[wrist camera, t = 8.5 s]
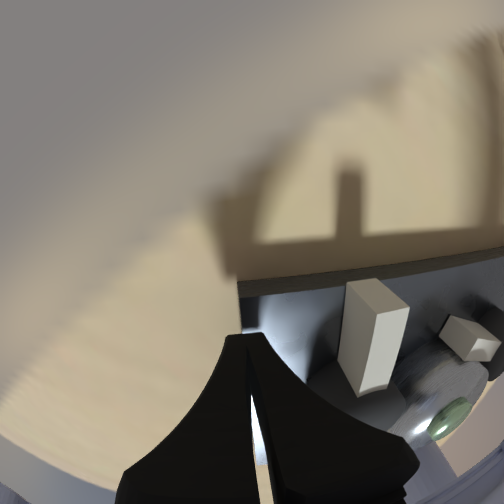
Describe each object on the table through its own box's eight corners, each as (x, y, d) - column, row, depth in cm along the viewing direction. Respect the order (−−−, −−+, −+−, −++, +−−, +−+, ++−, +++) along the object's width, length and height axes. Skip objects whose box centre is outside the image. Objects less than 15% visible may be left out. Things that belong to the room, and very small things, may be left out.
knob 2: (506, 311, 13) (530, 329, 10) (479, 359, 14) (499, 379, 12) (461, 290, 12) (495, 315, 9) (424, 356, 13) (451, 386, 10)
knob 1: (371, 400, 13) (391, 435, 11) (301, 417, 13) (314, 458, 10) (402, 272, 11) (443, 303, 8) (310, 285, 10) (338, 327, 8)
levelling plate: (473, 378, 18) (503, 412, 12) (254, 449, 16) (264, 514, 11) (518, 243, 13) (568, 268, 8) (237, 281, 12) (248, 377, 6)
